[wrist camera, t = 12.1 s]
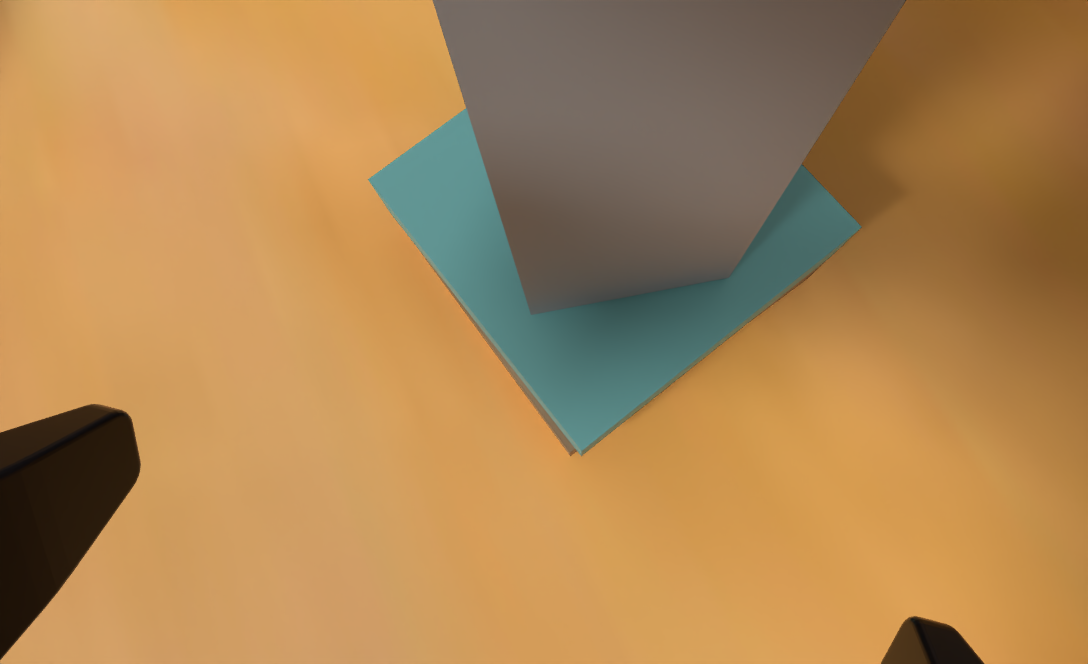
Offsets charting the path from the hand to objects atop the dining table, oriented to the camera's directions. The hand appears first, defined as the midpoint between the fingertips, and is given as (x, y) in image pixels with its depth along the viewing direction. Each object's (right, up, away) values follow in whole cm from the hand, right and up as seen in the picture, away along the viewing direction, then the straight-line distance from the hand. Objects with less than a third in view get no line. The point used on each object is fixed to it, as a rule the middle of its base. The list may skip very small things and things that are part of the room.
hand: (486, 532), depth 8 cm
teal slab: (+2, +5, +13) cm, 14 cm away
